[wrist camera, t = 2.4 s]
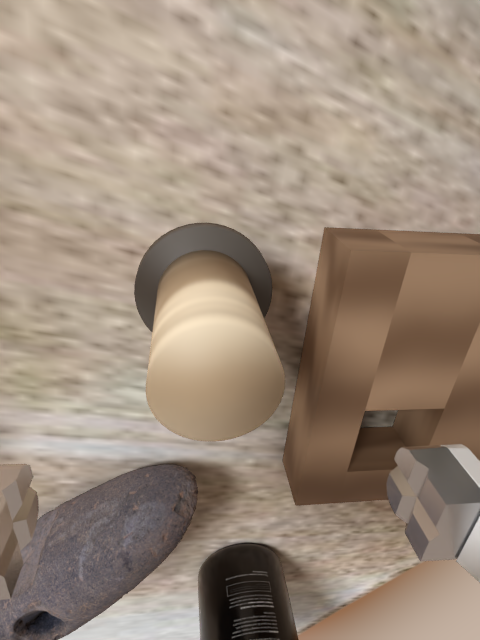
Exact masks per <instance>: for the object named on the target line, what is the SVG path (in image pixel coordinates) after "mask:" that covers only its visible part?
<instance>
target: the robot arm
mask: <svg viewBox="0 0 480 640" xmlns="http://www.w3.org/2000/svg"><path fill="white" fill-rule="evenodd" d="M394 460H395V462H396V463H397V465H398V466H397V467H396V468H395V469H393V470H392V471H391V472H390V473H389V476H388V479H387V483H386V485H387V496H388V499H389V503H390V505H391V507H392V509H393V511H394V513H395V515H396V516H398V517H399V518H400V519H402V520H403V521H404V522H405V523H406V529H405V534H406V536H407V538H408V539H409V541H410V543H411V545H412V547H413V549H414V550H415V552H416V554H417V556H418V558H419V560H420V561H433V560H450V559H457V560H456V562H458V563H459V564H460V565H461V566H462V567H463V568H464V569H465V570H466V571H467V572H469V573H470V574H471V575H472V576H473V577H474V578H475V579H476V580H477V581H479V582H480V461H479V460H478V459H477V458H476V457H475V455H474V454H473V453H472V452H471V451H470V450H469V448H467V447H466V446H464V445H462V444H453V445H440V446H439V445H432V446H414V447H401V448H400V449H399V450H398V451H397V453H396V455H395V458H394ZM32 478H33V474H32V471H31V467H30V465H27V464H4V465H0V600H3V599H11V597H12V594H13V591H14V588H15V586H16V583H17V580H18V577H19V574H20V572H21V569H22V566H23V563H24V562H23V558H22V555H21V550H22V549H23V548H24V547H25V546H26V545H27V544H28V543H29V542H30V541H31V540H32V537H33V534H34V531H35V528H36V524H37V518H38V512H39V510H38V496H37V492H36V491H35V490H33V489H32V488H31V487H29V486H30V483H31V481H32Z"/></svg>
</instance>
